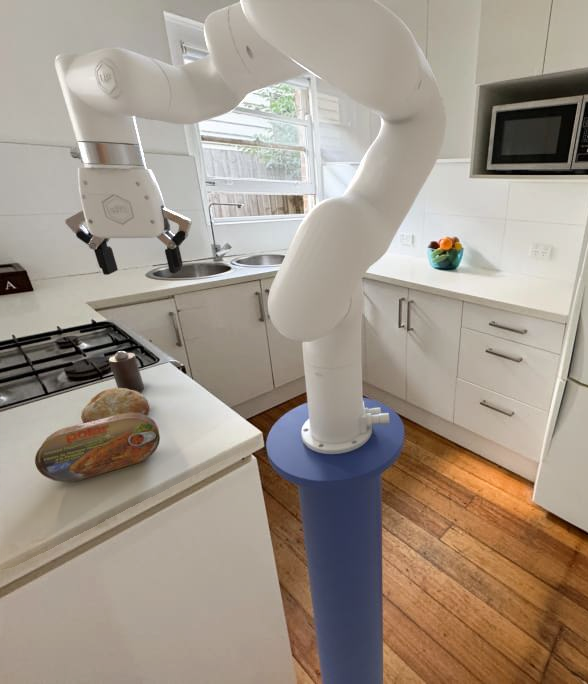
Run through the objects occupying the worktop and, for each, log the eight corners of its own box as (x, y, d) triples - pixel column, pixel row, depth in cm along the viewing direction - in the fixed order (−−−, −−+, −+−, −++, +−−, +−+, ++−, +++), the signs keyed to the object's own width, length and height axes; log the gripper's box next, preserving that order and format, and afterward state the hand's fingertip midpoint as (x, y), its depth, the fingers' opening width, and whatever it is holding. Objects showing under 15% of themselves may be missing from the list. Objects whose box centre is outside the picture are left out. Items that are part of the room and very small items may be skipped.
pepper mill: (147, 384, 84) (136, 346, 80) (139, 395, 80) (127, 355, 77) (125, 386, 83) (113, 347, 80) (115, 396, 79) (102, 356, 76)
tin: (46, 490, 56) (24, 444, 53) (50, 477, 59) (30, 432, 55) (165, 455, 64) (152, 413, 60) (164, 445, 66) (152, 404, 63)
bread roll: (100, 455, 68) (97, 428, 64) (70, 417, 71) (65, 389, 66) (158, 427, 76) (159, 402, 72) (129, 394, 79) (128, 368, 74)
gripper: (27, 154, 51) (70, 279, 58) (168, 159, 55) (193, 276, 62) (62, 157, 58) (97, 268, 65) (186, 161, 61) (206, 266, 68)
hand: (144, 272), depth 63 cm, fingers open, 9 cm apart
